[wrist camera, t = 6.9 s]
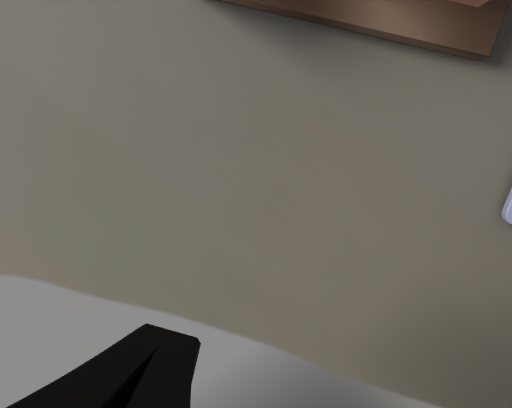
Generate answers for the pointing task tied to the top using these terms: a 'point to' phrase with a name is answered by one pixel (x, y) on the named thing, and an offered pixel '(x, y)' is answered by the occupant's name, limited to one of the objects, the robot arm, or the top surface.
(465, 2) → the terracotta block
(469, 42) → the cargo strip
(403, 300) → the top surface
